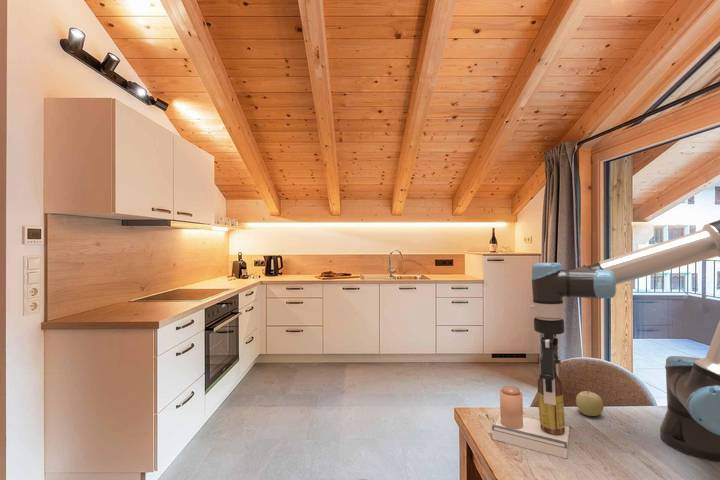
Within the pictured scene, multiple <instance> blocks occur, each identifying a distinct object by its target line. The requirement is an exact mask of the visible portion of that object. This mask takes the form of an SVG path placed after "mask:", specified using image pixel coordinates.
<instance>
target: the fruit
mask: <svg viewBox="0 0 720 480" xmlns="http://www.w3.org/2000/svg"><path fill="white" fill-rule="evenodd" d="M575 403H576V407H577V408H578V410H579V412H581V413H582V414H583V415H585V416H587V417H597V416H599V415H601V414H602V413H603V410H604V401H603V399H602V397H601V396H600V395H599V394H597V393H596V392H593V391H591V390H590V389H588V391H586V390H585V391H580V392H579V393H577V395H576V398H575Z"/></svg>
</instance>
